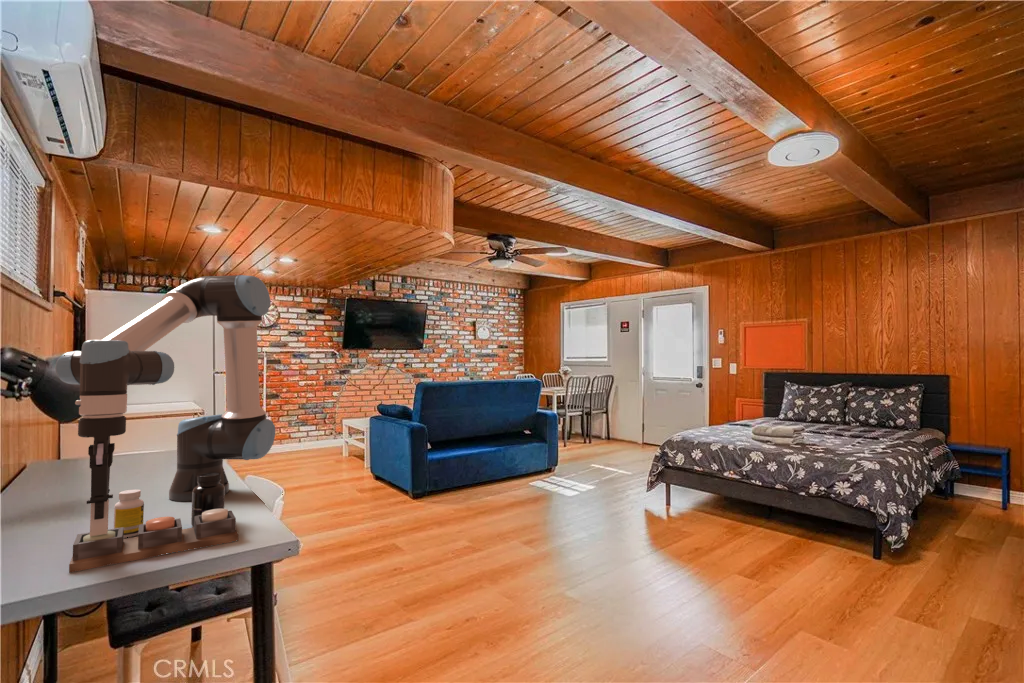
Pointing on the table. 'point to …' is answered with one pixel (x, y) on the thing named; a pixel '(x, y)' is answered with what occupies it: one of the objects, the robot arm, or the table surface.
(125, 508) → the supplement bottle
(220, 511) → the peach rounded block
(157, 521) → the terracotta button
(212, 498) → the supplement bottle
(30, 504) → the table surface
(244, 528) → the table surface
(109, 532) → the sage button
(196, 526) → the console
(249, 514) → the table surface
